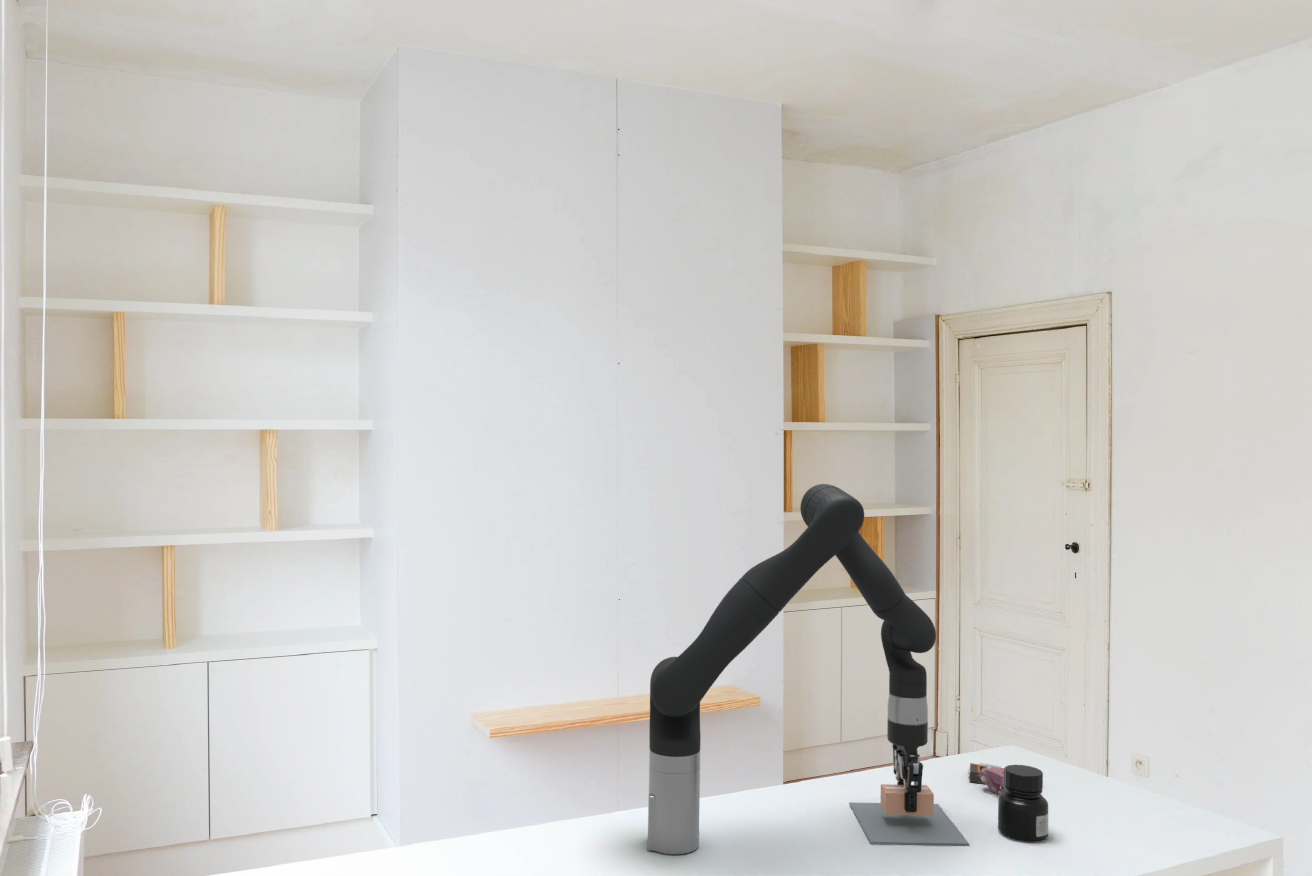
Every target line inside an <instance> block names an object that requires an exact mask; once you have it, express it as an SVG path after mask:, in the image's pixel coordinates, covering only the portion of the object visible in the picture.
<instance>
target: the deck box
mask: <svg viewBox="0 0 1312 876" xmlns="http://www.w3.org/2000/svg"><path fill="white" fill-rule="evenodd" d="M911 786H914V784H911ZM934 797H935V794H934V792H933V791H932V789H931V788H930V787H929V786H928V785H926V784H922V785H921V792H918V793H917V811H916V812H906V811H905V809H904V785H897V784H890V783H889V784H887V783H882V784H880V803H881V807H882V808H883V810H884V812H885V813H886V814H893V815H934V804H935V798H934Z"/></svg>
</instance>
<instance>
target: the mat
mask: <svg viewBox="0 0 1312 876" xmlns="http://www.w3.org/2000/svg"><path fill="white" fill-rule="evenodd" d="M848 804H850V805H849V807H850V809H851V808H852V809H851V811H852V810H853V811H852V812H853V814H854V816H855V818H856V819H857V820H856V821H857V822H858V821H859V822H858V824H859V823H860V824H859V825H860V828H861V829H862V831H863V833H864V835H865V836H866V839H867V840H868V842H869V844H870V845H894V844H897V845H898V846H901V845H903V846H905V845H906V846H910V845H911V846H954V847H955V846H956V847H957V846H958V847H959V846H960V847H968V846H970V843H969V841H968V840H967V839H966V837H964V835H963V834H962V832H961V831H960V830H959V828H958V827H957V826H956V824H954V822H953V821H952V820H951V819H950V817H949V815H948V814H946V812H945V811H944V810H943V809H942V807H941V805H940V804H939V803H934V815H893V814H886V813H885V812H884V810H883V808H882V807H881V802H857V801H856V802H849V803H848Z"/></svg>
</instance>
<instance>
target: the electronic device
mask: <svg viewBox="0 0 1312 876" xmlns="http://www.w3.org/2000/svg"><path fill="white" fill-rule="evenodd" d="M988 766H990V767H991V768H993V767H995V768H1000V769H1003V770H1004V768H1005V767H1004V768H1003V767H1002V766H1001V765H997V764H990V763H983V762H979V763H972V762H970V765H969V767H968V768H967V769H968V772H967V775H969V782H971V783H976V784H983V785H986V784H985V783H984V782H982V781H981V779H980V777H979V772H980V771H981V770H982V769H984V768H985V767H986V768H987V767H988ZM999 786H1000V785H999ZM1000 787H1001V786H1000Z"/></svg>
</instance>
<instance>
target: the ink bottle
mask: <svg viewBox="0 0 1312 876" xmlns="http://www.w3.org/2000/svg"><path fill="white" fill-rule="evenodd" d="M1043 774H1044V773H1043V771H1042V770H1041V769H1039V768H1036V767H1035V766H1030V765H1025V764H1024V765H1023V764H1008V765H1006V766H1005V767H1004V784H1005V785H1004V787H1005V790H1004V792H1002V793H1001V792H1000V793H999V795H998V800H997V801H998V803H997V829H998V832H999V833H1000V834H1001V835H1003V837H1006V838H1008V839H1011V840H1014V841H1018V842H1019V841H1020V842H1027V843H1040V842H1043V841H1046V840H1047V839H1048V837H1049V802H1048V800H1047V799H1046V798H1045V797H1044V795H1042V793H1043V784H1044V779H1043V778H1044V775H1043Z"/></svg>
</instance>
